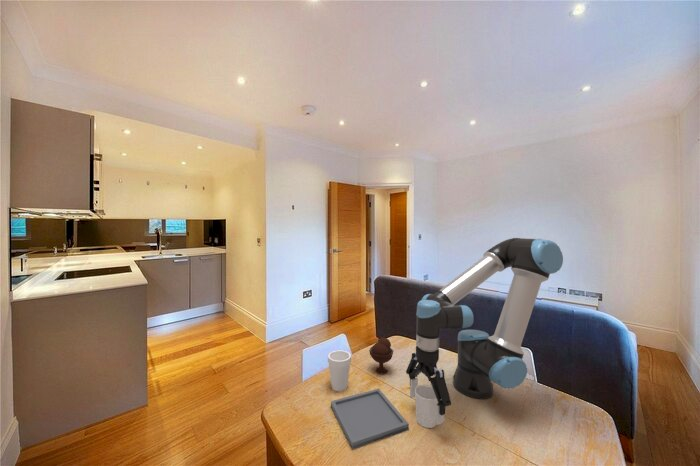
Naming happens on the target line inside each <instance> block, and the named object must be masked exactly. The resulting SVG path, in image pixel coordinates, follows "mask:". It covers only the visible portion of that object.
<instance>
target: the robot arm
mask: <svg viewBox="0 0 700 466" xmlns="http://www.w3.org/2000/svg"><path fill="white" fill-rule="evenodd" d="M563 263H564V255H563V252H562V251H561V248H560V246H559V245H558V243H556V242H554V241H552V240H550V239H542V238H521V237H513V238H512V237H511V238H508V239H505V240H503V241H500V242H499V243H497V244H495V245H494V246H492V247H490V248H489V249H488V250H486V251H485V252H484V253H483V257H481V258H480V259H478V261H477V262H475V263H473V264H472V265H471V266H470V267H468V268H467V269H466V270H464V271H463V272H462V273H460V274H459V275H458V276H457V277H455V278H453V279H452V280H451V281H449V282H448V283H447V284H446V285H444V286H443V287H442V288H441V289H439V290H437V291H436V292H435V293H434V294H433V293H427V294H425V295H423V297H421V300H419V301H418V302H417V303H416V305H417V306H416V313H415V315H416V316H415V317H416V328H415V329H416V331H415V333H416V334H415V335H416V336H415V337H416V340H415V352H413V353H411V359H410V360H409V363H408V366H407V368H406V370H405V373H406V374H407V375H408V377H409V390H410V391H409V398H410V399H415V388H416V387H417V386H419V385H418V383H419V381H418V380H419V379H418V376H419V375H420V374H421V373H422V375H425V377H427V379H428V381H429V382H430V385H431V387H433V390H434V393H435V395H436V398H437V401H438V402H437V403H436V426H437V425H441V424H443V423H445V415H446V409H447V407H449V406H451V405H452V400H451V397H450V393H449V389H448V387H447V382H446V377H445V371H444V369H439V368H438V366H437V364H438V362H439V359H440V349H439V348H440V332H441V331H440V330H454V329H456V330H457V329H460V331H459V332H458V335H457V339H456V341H457V366H456V368H455V370H454V374H453V376H452V384H453V388H455V389H456V390H457V391H458V392H459V393H461V394H462V395H465V396H467V397H470V398H473V399H478V400H479V399H481V400H482V399H490V398H491V397H492V396H493V395H494V384H496V385H498V386H499V387H500V388H503V389H506V390H507V389H508V390H509V389H514V388H516V387H518V386H520V385H521V384H522V383H523V382H525V379H526V378H527V374H528V367H527V365H526V362H525V361H524V360H523V358H524V355H525V352H524V350H523V349H522V343H523V340H524V337H525V333H526V331H527V328H528V325H529V322H530V319H531V316H532V312H533V310H534V307H535V303H536V301H537V300H536V299H537V297H538V294H539V291H540V289H541V284H542V283H543V282H546V281H548V280H549V278H550V275H551V274H556V273H558V271H560V270H561V268H562V266H563ZM508 268H510V269H511V272H513V277H512V279H511V282H510V287H509V289H508V292H507V295H506V299H505V301H504V304H503V307H502V310H501V312H500V317H499V319H498V322H497V325H496V328H495V331H494V334H493V335H491V336H490V335H489V333H487V332H486V331H483V330H478V329H467V328H470V327H472V325H473V324H474V313H473V311H472V309H471V308H470V307H469V306H467V305H461V304H459V305H456V304H457V303H458V302H459V301H460V300H462V299H464V298H465V297H466V296H467V295H468V294H470V293H471V292H472V291H474V290H475V289H477V288H478V287H479V286H480V285H481V284H483V283H484V282H486V281H487V280H488V279H490V278H491V277H492V276H493V275H495V274H496V273H497V272H503V271H505V270H506V269H508ZM465 328H466V329H465ZM461 329H463V330H461ZM493 383H494V384H493Z"/></svg>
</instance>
